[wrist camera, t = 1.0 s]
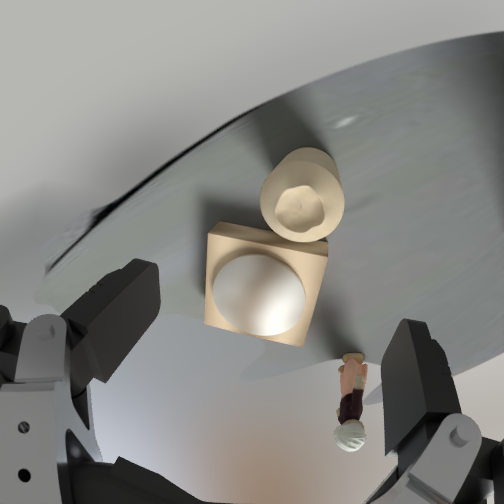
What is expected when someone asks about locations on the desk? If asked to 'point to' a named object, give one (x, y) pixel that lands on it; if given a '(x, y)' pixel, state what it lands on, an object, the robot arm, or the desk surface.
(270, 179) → the candle
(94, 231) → the desk surface
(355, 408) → the grandmother figurine
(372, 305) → the desk surface
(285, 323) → the candle stand
